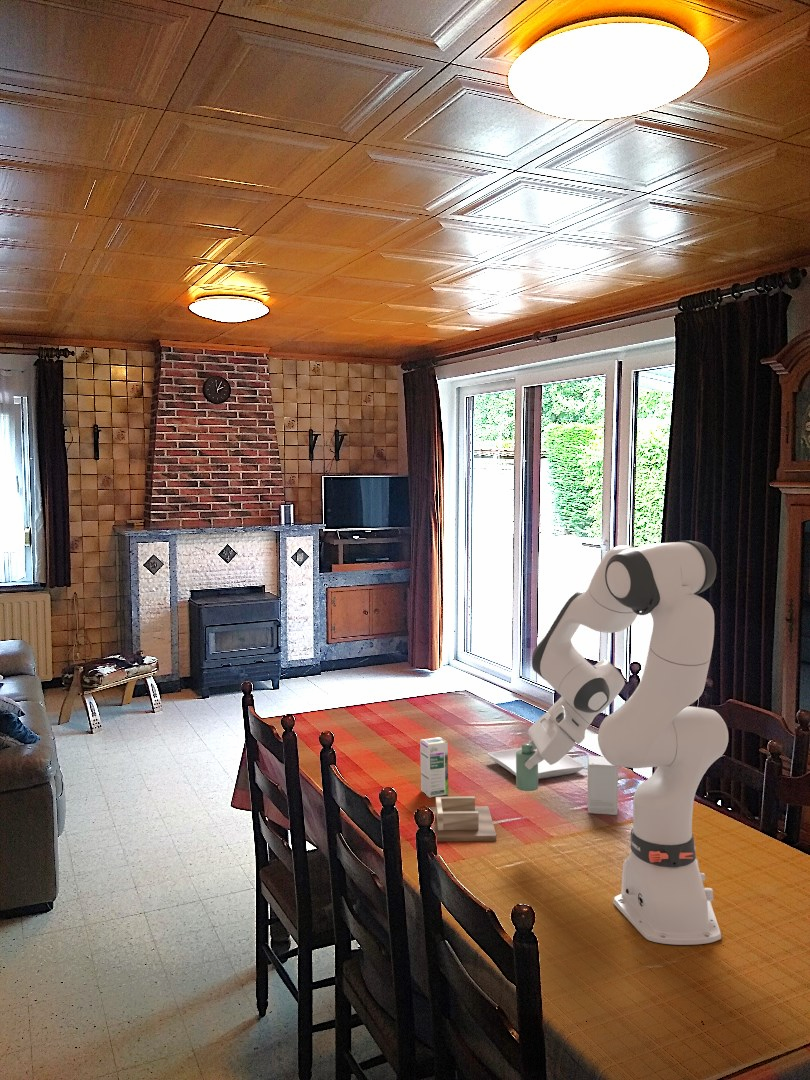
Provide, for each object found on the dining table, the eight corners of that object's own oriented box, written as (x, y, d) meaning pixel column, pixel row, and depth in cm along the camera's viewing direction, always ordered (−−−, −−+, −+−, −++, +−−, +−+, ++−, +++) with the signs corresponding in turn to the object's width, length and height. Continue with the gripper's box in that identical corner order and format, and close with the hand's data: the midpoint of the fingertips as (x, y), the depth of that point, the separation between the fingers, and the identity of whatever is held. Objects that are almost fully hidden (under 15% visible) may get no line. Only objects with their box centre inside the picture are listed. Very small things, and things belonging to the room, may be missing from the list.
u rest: (496, 840, 202) (496, 818, 201) (427, 841, 201) (427, 819, 201) (488, 810, 219) (488, 790, 219) (425, 811, 219) (424, 791, 219)
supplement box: (618, 815, 215) (618, 765, 215) (587, 813, 217) (587, 764, 216) (616, 804, 223) (617, 756, 222) (587, 802, 224) (587, 754, 223)
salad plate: (587, 776, 245) (587, 764, 244) (521, 787, 237) (521, 774, 237) (548, 754, 264) (548, 743, 264) (485, 763, 257) (485, 752, 256)
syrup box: (429, 798, 229) (428, 744, 227) (420, 791, 234) (419, 738, 233) (448, 795, 231) (448, 741, 230) (439, 787, 236) (439, 735, 235)
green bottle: (539, 790, 197) (539, 747, 196) (517, 791, 197) (517, 748, 196) (536, 783, 202) (536, 741, 201) (514, 783, 202) (514, 741, 201)
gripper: (548, 698, 209) (508, 739, 209) (565, 721, 188) (520, 766, 189) (567, 716, 209) (527, 757, 210) (585, 741, 189) (541, 786, 189)
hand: (524, 762), depth 199 cm, fingers closed on green bottle, 5 cm apart
